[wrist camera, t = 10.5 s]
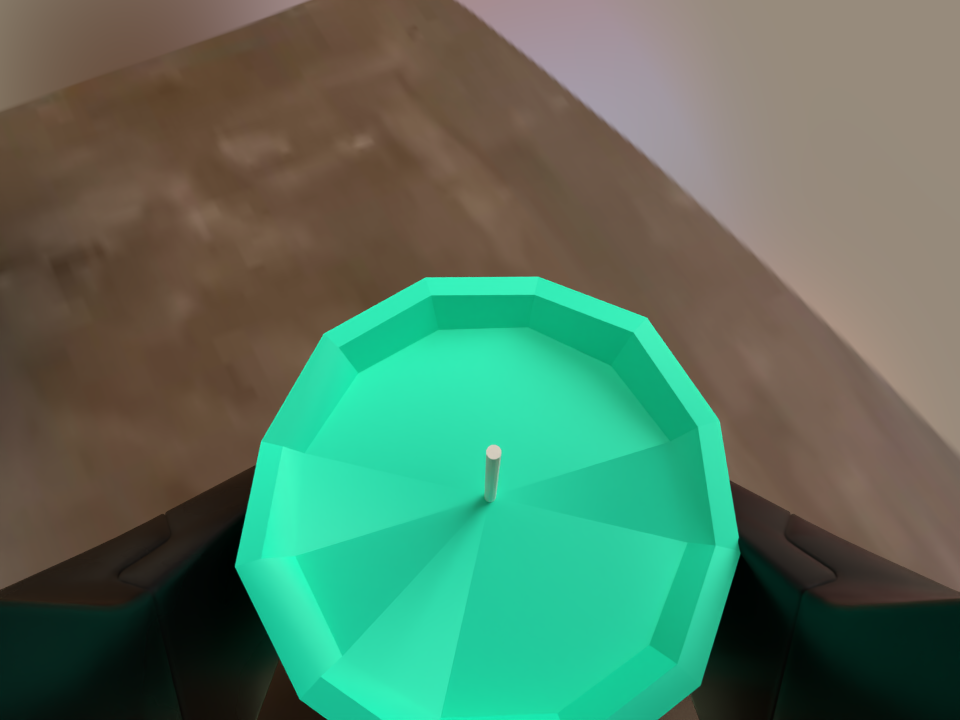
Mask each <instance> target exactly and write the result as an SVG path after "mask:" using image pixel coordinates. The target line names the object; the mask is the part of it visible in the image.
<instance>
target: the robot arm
mask: <svg viewBox="0 0 960 720" xmlns="http://www.w3.org/2000/svg"><path fill="white" fill-rule="evenodd" d="M255 469H256V465H255V466H253V467H251V468H249V469H247V470H245V471H244V472H242V473H240V474H238V475H236V476H234V477H232V478H230V479H228V480H226V481H224V482H222V483H221V484H219V485H217V486H215V487H213V488H211V489H209V490H207V491H205V492H203V493H201V494H200V495H198V496H196V497H194V498H192V499H190V500H188V501H186V502H184V503H182V504H180V505H179V506H177V507H175V508H173V509H171V510H169V511H167V512H166V513H165V515H164V514H161V515H159V516H157V517H155V518H153V519H152V520H150V521H148V522H146V523H144V524H142V525H140V526H138V527H136V528H134V529H132V530H130V531H128V532H126V533H124V534H122V535H120V536H118V537H116V538H114V539H112V540H109V541H107V542H105V543H103V544H101V545H99V546H97V547H94V548H92V549H90V550H88V551H86V552H84V553H81V554H79V555H77V556H75V557H73V558H70V559H68V560H66V561H64V562H61V563H59V564H57V565H55V566H52V567H50V568H48V569H46V570H44V571H41V572H39V573H37V574H35V575H32V576H30V577H28V578H26V579H24V580H21V581H19V582H17V583H15V584H12V585H10V586H8V587H6V588H3V589H1V590H0V720H257V718H258V715H259V712H260V710H261V707H262V704H263V702H264V699H265V696H266V693H267V691H268V688H269V685H270V683H271V680H272V677H273V675H274V672H275V669H276V667H277V664H278V661H279V659H280V658H279V656H278V654H277V652H276V650H275V648H274V646H273V644H272V642H271V640H270V637H269V635H268V633H267V631H266V629H265V627H264V625H263V623H262V621H261V619H260V617H259V615H258V613H257V611H256V609H255V607H254V605H253V603H252V601H251V599H250V597H249V595H248V592H247V590H246V588H245V586H244V584H243V582H242V580H241V578H240V576H239V574H238V572H237V570H236V568H235V564H236V559H237V554H238V549H239V545H240V540H241V535H242V531H243V526H244V521H245V516H246V512H247V507H248V502H249V497H250V493H251V488H252V483H253V478H254V474H255ZM729 481H730V480H729ZM730 487H731V493H732V499H733V505H734V511H735V517H736V523H737V529H738V535H739V538H738V545H739V549H740V557H739V560H738V563H737V567H736V570H735V573H734V577H733V580H732V583H731V587H730V590H729V593H728V596H727V600H726V603H725V606H724V610H723V613H722V616H721V620H720V623H719V626H718V629H717V633H716V636H715V639H714V643H713V646H712V649H711V653H710V656H709V659H708V662H707V666H706V669H705V672H704V676H703V679H702V682H701V686H699V687H698V688H697V689H696V690H694V691H693V692H692V693H691V694H690V696H691V698H692V701H693V704H694V707H695V709H696V712H697V715H698V717H699V720H960V592H958V591H956V590H953V589H951V588H949V587H947V586H944V585H942V584H940V583H938V582H936V581H933V580H931V579H929V578H927V577H924V576H922V575H920V574H918V573H916V572H913V571H911V570H909V569H907V568H905V567H902V566H900V565H898V564H896V563H894V562H891V561H889V560H887V559H885V558H883V557H880V556H878V555H876V554H874V553H871V552H869V551H867V550H865V549H863V548H861V547H859V546H857V545H854V544H852V543H850V542H848V541H846V540H844V539H842V538H839V537H837V536H835V535H833V534H831V533H829V532H828V531H826V530H824V529H822V528H820V527H818V526H816V525H814V524H812V523H810V522H808V521H806V520H804V519H802V518H800V517H798V516H797V515H795V514H790V512H789V511H787V510H785V509H783V508H781V507H779V506H777V505H776V504H774V503H772V502H770V501H768V500H766V499H764V498H762V497H760V496H758V495H757V494H755V493H753V492H751V491H749V490H747V489H745V488H743V487H741V486H739V485H738V484H736V483H734V482H732V481H730Z"/></svg>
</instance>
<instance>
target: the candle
mask: <svg viewBox="0 0 960 720" xmlns="http://www.w3.org/2000/svg"><path fill="white" fill-rule="evenodd" d="M738 538H739V535H738V529H737V523H736V517H735V511H734V505H733V499H732V493H731V487H730V481H729V475H728V469H727V463H726V457H725V451H724V445H723V439H722V433H721V427H720V421H719V419H718V418H717V416H716V415H715V414H714V412H713V411H712V409H711V408H710V406H709V405H708V404H707V402H706V401H705V399H704V398H703V397H702V395H701V394H700V392H699V391H698V389H697V388H696V387H695V385H694V384H693V382H692V381H691V380H690V378H689V377H688V375H687V374H686V372H685V371H684V370H683V368H682V367H681V365H680V364H679V363H678V361H677V360H676V358H675V357H674V355H673V354H672V353H671V351H670V350H669V348H668V347H667V346H666V344H665V343H664V341H663V340H662V338H661V337H660V336H659V334H658V333H657V331H656V330H655V329H654V327H653V326H652V324H651V323H650V321H649V320H648V319H647V318H646V317H643V316H641V315H638V314H635V313H633V312H630V311H628V310H625V309H622V308H620V307H617V306H614V305H612V304H609V303H606V302H604V301H601V300H598V299H596V298H593V297H590V296H588V295H585V294H582V293H580V292H577V291H575V290H572V289H569V288H567V287H564V286H561V285H559V284H556V283H553V282H551V281H548V280H545V279H543V278H540V277H445V278H424V279H422V280H420V281H419V282H417V283H415V284H413V285H411V286H409V287H408V288H406V289H404V290H402V291H400V292H399V293H397V294H395V295H393V296H391V297H390V298H388V299H386V300H384V301H382V302H381V303H379V304H377V305H375V306H373V307H371V308H370V309H368V310H366V311H364V312H362V313H361V314H359V315H357V316H355V317H353V318H352V319H350V320H348V321H346V322H344V323H343V324H341V325H339V326H337V327H335V328H333V329H332V330H330V331H328V332H326V333H324V334H323V336H322V338H321V340H320V341H319V343H318V345H317V347H316V348H315V350H314V352H313V353H312V355H311V357H310V359H309V360H308V362H307V364H306V365H305V367H304V369H303V371H302V372H301V374H300V376H299V377H298V379H297V381H296V383H295V384H294V386H293V388H292V389H291V391H290V393H289V395H288V396H287V398H286V400H285V402H284V403H283V405H282V407H281V408H280V410H279V412H278V414H277V415H276V417H275V419H274V420H273V422H272V424H271V426H270V427H269V429H268V431H267V432H266V434H265V436H264V438H263V439H262V441H261V445H260V450H259V455H258V459H257V464H256V469H255V474H254V478H253V483H252V488H251V493H250V497H249V502H248V507H247V512H246V516H245V521H244V526H243V531H242V535H241V540H240V545H239V549H238V554H237V559H236V564H235V568H236V570H237V572H238V574H239V576H240V578H241V580H242V582H243V584H244V586H245V588H246V590H247V592H248V595H249V597H250V599H251V601H252V603H253V605H254V607H255V609H256V611H257V613H258V615H259V617H260V619H261V621H262V623H263V625H264V627H265V629H266V631H267V633H268V635H269V637H270V640H271V642H272V644H273V646H274V648H275V650H276V652H277V654H278V656H279V658H280V660H281V662H282V664H283V666H284V668H285V670H286V672H287V674H288V676H289V678H290V680H291V682H292V685H293V687H294V689H295V691H296V693H297V695H298V697H299V699H300V700H301V701H303V702H304V703H305V704H307V705H308V706H310V707H311V708H312V709H314V710H315V711H316V712H318V713H319V714H320V715H322V716H323V717H325V718H326V719H327V720H658V719H659V718H660V717H662V716H663V715H664V714H665V713H667V712H668V711H669V710H670V709H672V708H673V707H674V706H675V705H677V704H678V703H679V702H680V701H682V700H683V699H684V698H686V697H687V696H688V695H689V694H691V693H692V692H693V691H694V690H696V689H697V688H698V687H699V686H701V682H702V679H703V676H704V672H705V669H706V666H707V662H708V659H709V656H710V653H711V649H712V646H713V643H714V639H715V636H716V633H717V629H718V626H719V623H720V620H721V616H722V613H723V610H724V606H725V603H726V600H727V596H728V593H729V590H730V587H731V583H732V580H733V577H734V573H735V570H736V567H737V563H738V560H739V557H740V549H739V545H738Z"/></svg>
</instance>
